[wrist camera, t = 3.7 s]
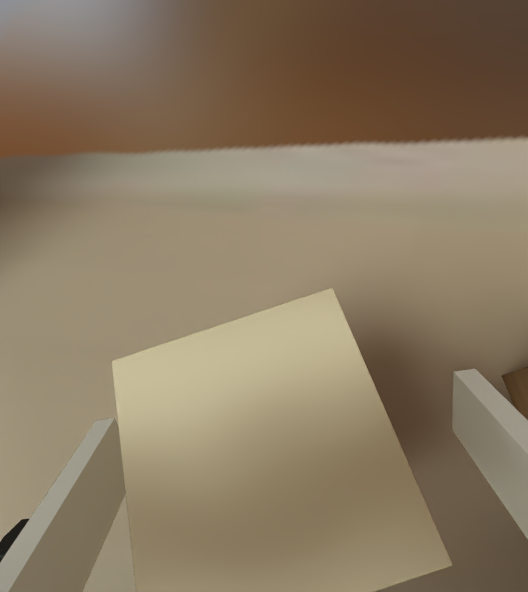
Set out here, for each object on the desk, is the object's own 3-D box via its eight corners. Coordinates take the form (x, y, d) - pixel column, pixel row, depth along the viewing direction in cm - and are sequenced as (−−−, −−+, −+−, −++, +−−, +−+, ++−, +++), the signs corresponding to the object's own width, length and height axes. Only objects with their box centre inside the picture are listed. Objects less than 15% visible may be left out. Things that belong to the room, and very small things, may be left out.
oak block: (223, 405, 20) (111, 361, 9) (321, 372, 20) (332, 287, 9) (251, 522, 17) (144, 667, 6) (363, 485, 17) (452, 565, 6)
